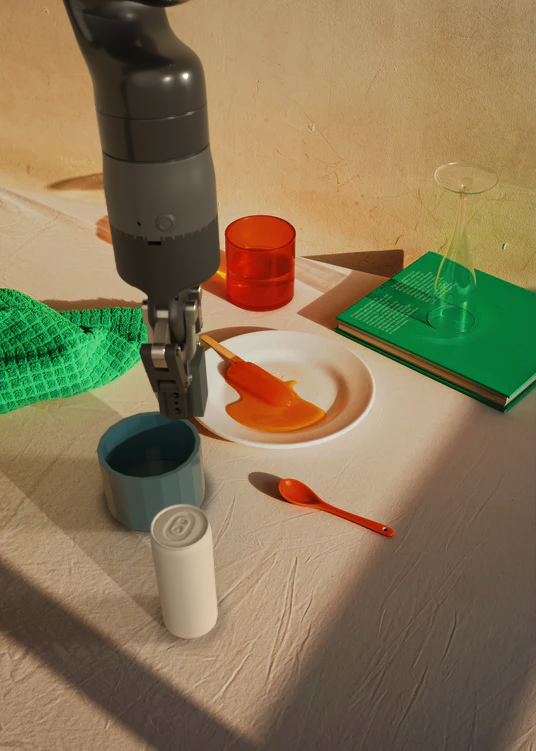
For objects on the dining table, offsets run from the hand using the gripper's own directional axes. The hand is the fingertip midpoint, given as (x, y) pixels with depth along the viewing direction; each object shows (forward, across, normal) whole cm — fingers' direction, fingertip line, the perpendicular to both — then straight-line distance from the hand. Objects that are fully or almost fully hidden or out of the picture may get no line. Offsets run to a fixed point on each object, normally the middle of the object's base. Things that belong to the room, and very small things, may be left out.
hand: (183, 401), depth 61 cm
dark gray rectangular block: (0, 0, 0) cm, 0 cm away
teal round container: (+17, -6, -5) cm, 19 cm away
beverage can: (+17, +9, +1) cm, 19 cm away
